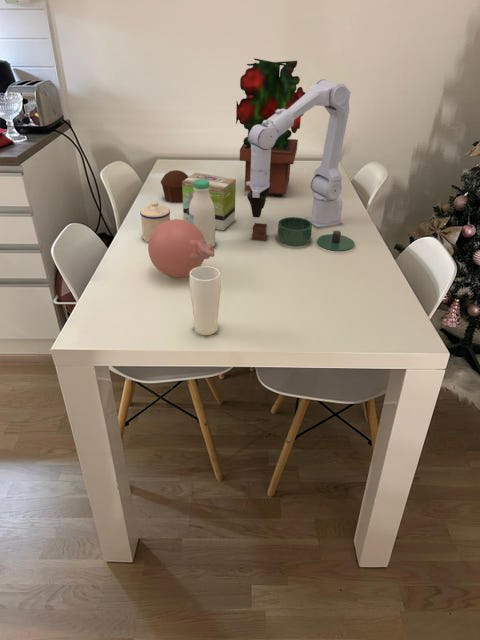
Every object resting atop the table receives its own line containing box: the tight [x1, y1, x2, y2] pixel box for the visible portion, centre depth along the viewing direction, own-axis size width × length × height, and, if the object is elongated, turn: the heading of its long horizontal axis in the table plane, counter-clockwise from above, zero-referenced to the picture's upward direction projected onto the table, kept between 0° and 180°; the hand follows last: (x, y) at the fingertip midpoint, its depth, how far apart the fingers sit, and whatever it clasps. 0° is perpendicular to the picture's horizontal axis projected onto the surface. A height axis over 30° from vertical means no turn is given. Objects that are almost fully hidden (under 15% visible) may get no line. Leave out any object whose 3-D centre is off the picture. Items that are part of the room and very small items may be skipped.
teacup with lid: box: [139, 201, 171, 243], centre depth 152 cm, size 12×9×12 cm
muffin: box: [160, 170, 189, 204], centre depth 181 cm, size 12×11×10 cm
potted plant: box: [235, 58, 306, 198], centre depth 180 cm, size 22×22×45 cm
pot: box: [276, 216, 313, 248], centre depth 153 cm, size 10×10×6 cm
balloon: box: [147, 218, 215, 278], centre depth 130 cm, size 15×20×15 cm
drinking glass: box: [188, 265, 222, 336], centre depth 110 cm, size 7×7×15 cm
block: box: [251, 222, 268, 242], centre depth 155 cm, size 4×4×4 cm
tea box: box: [182, 172, 237, 232], centre depth 162 cm, size 15×10×15 cm
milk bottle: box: [189, 179, 216, 248], centre depth 145 cm, size 8×8×20 cm
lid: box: [316, 230, 355, 252], centre depth 152 cm, size 11×11×4 cm
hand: (258, 212), depth 152 cm, fingers open, 7 cm apart
